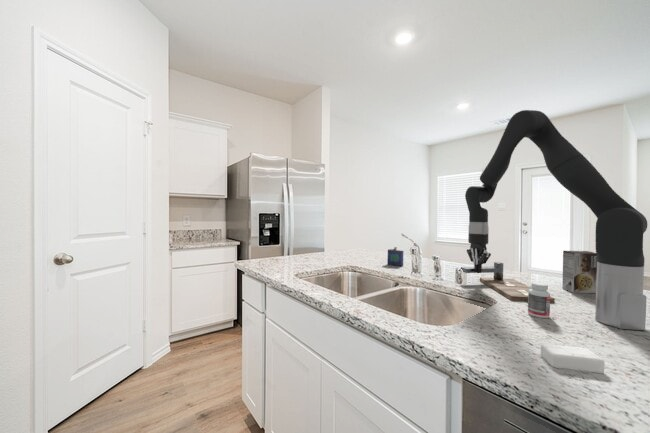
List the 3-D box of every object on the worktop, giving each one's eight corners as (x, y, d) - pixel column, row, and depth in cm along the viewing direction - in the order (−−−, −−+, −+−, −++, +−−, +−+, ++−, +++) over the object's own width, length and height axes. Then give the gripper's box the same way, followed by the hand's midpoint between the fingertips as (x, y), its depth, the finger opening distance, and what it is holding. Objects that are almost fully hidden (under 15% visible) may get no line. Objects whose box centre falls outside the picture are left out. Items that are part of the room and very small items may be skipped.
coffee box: (584, 289, 115) (586, 250, 115) (598, 294, 109) (600, 253, 108) (561, 288, 116) (562, 250, 115) (573, 293, 109) (574, 252, 109)
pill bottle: (551, 319, 82) (552, 287, 81) (529, 316, 84) (530, 284, 84) (547, 314, 86) (548, 283, 86) (526, 310, 89) (527, 280, 89)
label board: (554, 302, 97) (554, 297, 97) (511, 300, 99) (511, 295, 99) (512, 282, 125) (512, 278, 125) (479, 280, 127) (479, 277, 127)
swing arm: (466, 280, 120) (466, 264, 120) (460, 278, 124) (460, 262, 124) (505, 279, 122) (505, 263, 122) (498, 277, 126) (499, 262, 126)
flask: (403, 265, 160) (404, 247, 160) (402, 266, 157) (402, 247, 157) (388, 264, 164) (388, 246, 164) (386, 265, 162) (386, 246, 162)
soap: (587, 361, 60) (587, 347, 60) (606, 375, 55) (606, 360, 54) (539, 355, 62) (539, 342, 62) (553, 368, 57) (553, 354, 57)
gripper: (460, 231, 125) (460, 269, 125) (480, 233, 112) (480, 276, 112) (476, 231, 126) (475, 269, 126) (497, 233, 112) (497, 276, 113)
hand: (477, 272), depth 119 cm, fingers closed
